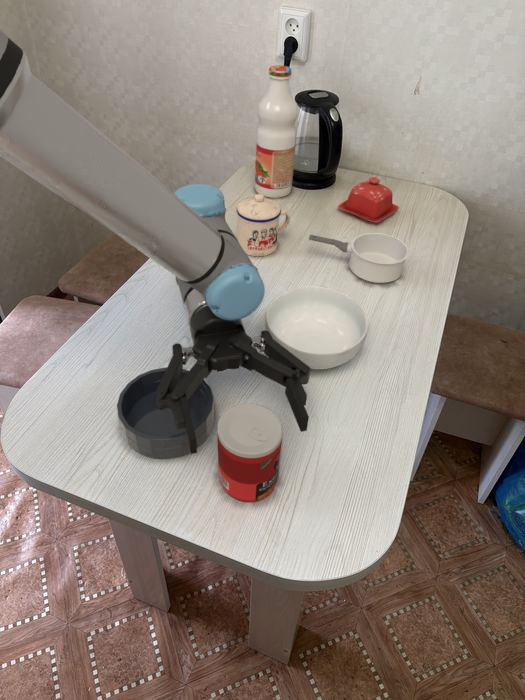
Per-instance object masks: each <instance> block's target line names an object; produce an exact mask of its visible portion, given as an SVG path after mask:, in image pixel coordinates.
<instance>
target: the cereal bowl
mask: <svg viewBox="0 0 525 700" xmlns="http://www.w3.org/2000/svg"><path fill="white" fill-rule="evenodd" d="M368 320H369V319H368V315H367V313H366V311H365V309H364V308H363V306H362V305H361V304H360V303H359V302H358V301H357V300H356V299H354V298H353V297H351V296H350V295H348V294H346V293H345V292H343V291H340V290H338V289H334V288H331V287H327V286H319V285H318V286H317V285H303V286H297V287H293V288H289V289H287V290H284V291H283V292H281V293H279V294H277V295H275V297H273V299H272V300H271V301H270V303H269V304H268V306H267V308H266V311H265V325H264V326H265V330H267V331H269V333H270V334H271V336H272V338H273V339H274V340H275V341H276V342H277V343H279V344H280V345H281V346H283V347H284V348H285V349H287V350H288V351H289V352H290V353H292V354H293V355H294V356H296V357H297V358H298V359H300V360H301V361H302V362H304V363H305V364H306V365H307V366H309V367H310V370H311V369H312V370H326V369H327V370H328V369H332V368H336V367H339V366H341V365H344V364H345V363H348V361H350V360H351V359H353V358H354V357H356V355H358V353H359V352H360V351H361V349H362V347H363V345H364V344H365V341H366V338H367V335H368V330H369V321H368Z"/></svg>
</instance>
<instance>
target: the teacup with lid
mask: <svg viewBox="0 0 525 700" xmlns="http://www.w3.org/2000/svg"><path fill="white" fill-rule="evenodd" d="M235 211H236V214H237V225H236V227H237V229H236V231H237V232H236V233H237V237H236V238H237V240H238V242H239V244H240V245H241V247H242V248H243V250H244V251H245V253H246V254H247V256H253V257H265V256H269V255H271V254H273V253H274V252H275V251H276V250H277V248H278V241H279V234H280V233H283V232H284V231H285V230H286V229H287V228H288V227H289V225H290V222H291V215H290V213H289V211H287V210H285V209H281V206H280V205H279V204H278V202H276V201H275V200H273V199H272V198H269V197H265V196H263V195H262V194H259V193H256V194H255V195H254V197H247V198H245V199H243V200H241V201H240V202H239V203H238V204H237V206H236V210H235ZM280 216H285V220H284V222H283V224H282V225H281V226H279V224H280Z"/></svg>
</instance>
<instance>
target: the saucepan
mask: <svg viewBox="0 0 525 700" xmlns="http://www.w3.org/2000/svg"><path fill="white" fill-rule="evenodd" d="M308 241H312V242H318V243H322V244H327V245H331V246H334V247H336V248H337V249H338V250H340V251H341V252H342V253H349V254H350V258H349V264H348V265H349V269H350V270H351V272H352V273H353V274H354V275H355V276H357V277H358V278H360V279H362V280H364V281H366V282H370V283H375V284H385V283H390V282H394V281H396V280H398V279H399V278H400V277H401V275H402V273H403V269H404V266H405V262H406V259H407V258H408V257H409V256H410V249H409V247H408V246H407V244H406V243H405V242H404V241H403V240H401V239H399V238H398V237H396V236H393V235H391V234H387V233H383V232H366V233H362V234H361V233H360V234H358V235H356V236H355V237H353V239H352V240H351V242H345V241H344V242H343V241H341V240H338V239H335V238H329V237H324V236H319V235H314V234H309V237H308Z"/></svg>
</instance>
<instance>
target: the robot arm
mask: <svg viewBox="0 0 525 700" xmlns="http://www.w3.org/2000/svg"><path fill="white" fill-rule="evenodd" d="M0 158H3V159H4V160H5V161H7V162H8V163H10V164H11V165H13V166H14V167H16V168H17V169H18V170H20V171H21V172H23V173H25V174H26V175H27V176H29V177H30V178H32V179H33V180H35V181H36V182H38V183H39V184H40V185H42V186H43V187H45V188H46V189H48V190H49V191H51V192H52V193H54V194H55V195H56V196H58V197H59V198H61V199H62V200H64V201H66V202H67V203H68V204H69V205H71V206H73V207H74V208H76V209H77V210H79V211H80V212H82V213H83V214H84V215H85V216H87V217H89V218H90V219H92V220H93V221H94V222H96V223H98V224H99V225H100V226H102V227H103V228H105V229H106V230H108V231H109V232H111V233H112V234H113V235H115V236H117V237H118V238H120V239H121V240H122V241H124V242H126V243H127V244H129V245H130V246H131V247H132V248H134V249H136V251H138V252H140V253H142V254H143V255H144V256H146V257H147V258H149V259H150V260H151V261H153V262H155V263H156V264H158V265H159V266H161V267H162V268H163V269H165V271H168V272H169V273H171V274H172V275H174V276H175V281H176V285H177V286H178V288H179V292H180V296H181V299H182V303H183V308H184V311H185V315H186V318H187V323H188V327H189V332H190V335H191V339H192V343H193V345H192V346H187V347H182V344H181V343H179V342H178V343H176V342H175V343H174V344H173V345H172V356H171V358H170V361H169V363H168V366H167V369H166V371H165V373H164V376H163V378H162V380H161V382H160V384H159V386H158V388H157V391H156V393H155V398H156V404H157V409H159V410H164V409H166V408H169V409H171V410H172V412H173V416H174V421H175V426H176V428H177V429H184V428H186V433H187V438H188V443H189V447H190V452H191V453H190V455H193V454H198V448H197V444H196V436H195V432H194V427H193V423H192V418H191V414H190V409H189V405H188V400H189V398H190V397H191V396H192V394H193V393H194V392H195V390H196V389H197V388H198V386H199V385H200V384H201V382H202V381H203V380H205V379H208V378H209V376H210V375H211V373H212V372H213V371H216V373H220V372H221V373H222V372H224V371H228V370H238V369H240V367H241V368H244V369H246V370H247V371H250V372H251V371H254V372H255V373H258V374H260V375H262V376H264V377H266V378H268V379H269V380H271V381H273V382H275V383H277V384H279V385H281V386H283V387H285V391H284V394H285V396H286V399H287V402H288V404H289V406H290V409H291V412H292V413H293V416H294V419H295V421H296V423H297V426H298V428H299V431H300V432H306V431H307V430H308V424H309V419H310V416H309V414H308V411H307V409H306V407H305V406H307V399H308V394H307V392H306V390H305V388H304V385H308V384H309V381H310V375H311V369H310V367H309V366H307V365H306V364H305V363H304V362H302V361H301V360H300V359H298V358H297V357H296V356H294V355H293V354H292V353H290V352H289V351H288V350H287V349H285V348H284V347H283V346H281V345H280V344H279V343H277V342H276V341H275V340H274V339H273V338H272V336H271V334H270V333H269V331H267V330H266V329H264V330H261V332H260V335H258V336H253V337H251V336H249V335H248V334H247V332H246V329H245V327H244V325H243V322H242V321H243V320H242V319H244V318H247V317H249V316H250V315H252V314H253V313H254V312H255V311H256V310H257V309H258V308H259V307H260V305H261V304H262V302H263V300H264V297H265V293H266V287H265V284H264V280H263V278H262V277H261V274H260V272H259V270H258V268H257V266H256V265H254V264H253V262H252V260H251V258H250V257H249V255H248V254H246V253H245V251H244V250H243V248H242V247H241V245H240V244H239V242H238V240H237V237H236V236H235V234H234V232H233V231H232V229H231V226H229V224H228V222H227V221H226V212H227V207H226V203H225V195H224V193H223V192H222V191H221V190H220V189H219V188H218V187H216V186H213V185H211V184H206V183H193V184H186V185H184V186H183V185H182V186H181V187H179V188H178V189H176V190H175V191H174V192H173V191H171V190H170V189H169V188H168V187H167V186H166V185H164V184H163V183H162V182H161V181H160V180H158V179H157V178H156V177H155V176H154V175H153V174H152V173H151V172H149V171H148V170H147V169H145V168H144V167H143V166H142V165H141V164H140V163H139V162H137V161H136V160H135V159H133V158H132V156H130V155H129V154H128V153H127V152H125V151H124V150H123V149H122V148H121V147H119V146H118V145H117V144H116V143H115V142H114V141H113V140H111V139H110V138H109V137H108V136H106V134H104V133H103V132H102V131H101V130H99V128H97V127H96V126H95V125H94V124H92V123H91V122H90V121H88V119H86V117H84V116H83V115H82V114H80V113H79V112H78V111H77V110H75V109H74V107H72V106H71V105H70V104H69V103H67V102H66V101H65V100H64V99H63V98H62V97H60V96H59V95H58V94H57V93H56V92H54V90H52V89H51V88H50V87H48V85H46V84H45V83H44V82H43V81H41V79H39V78H38V77H37V76H35V74H33V72H32V71H31V68H30V64H29V60H28V55H27V53H26V52H25V50H24V49H23V48H21V47H20V46H19V45H18V44H16V43H15V42H14V41H13V40H12V39H11V38H10V37H9V36H7V35H6V33H4V31H3V30H1V29H0ZM258 350H259V351H258ZM262 353H264V354H262ZM192 357H193V359H194V360H195V361H196V362H195V363H194V364H193V366H192V367H191V368H190V369H189V370H188V371H189V372H188V373H187V375H186V376H185V377H184V378H183V380H182V381H181V382H180V383H179V385H178V386H177V387H176V388H175V386H176V384H177V382H178V379H179V377H180V375H181V372H182V370H183V369H184V366H186V365H187V364H188V362H189V359H191V358H192ZM174 389H175V390H174Z"/></svg>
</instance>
